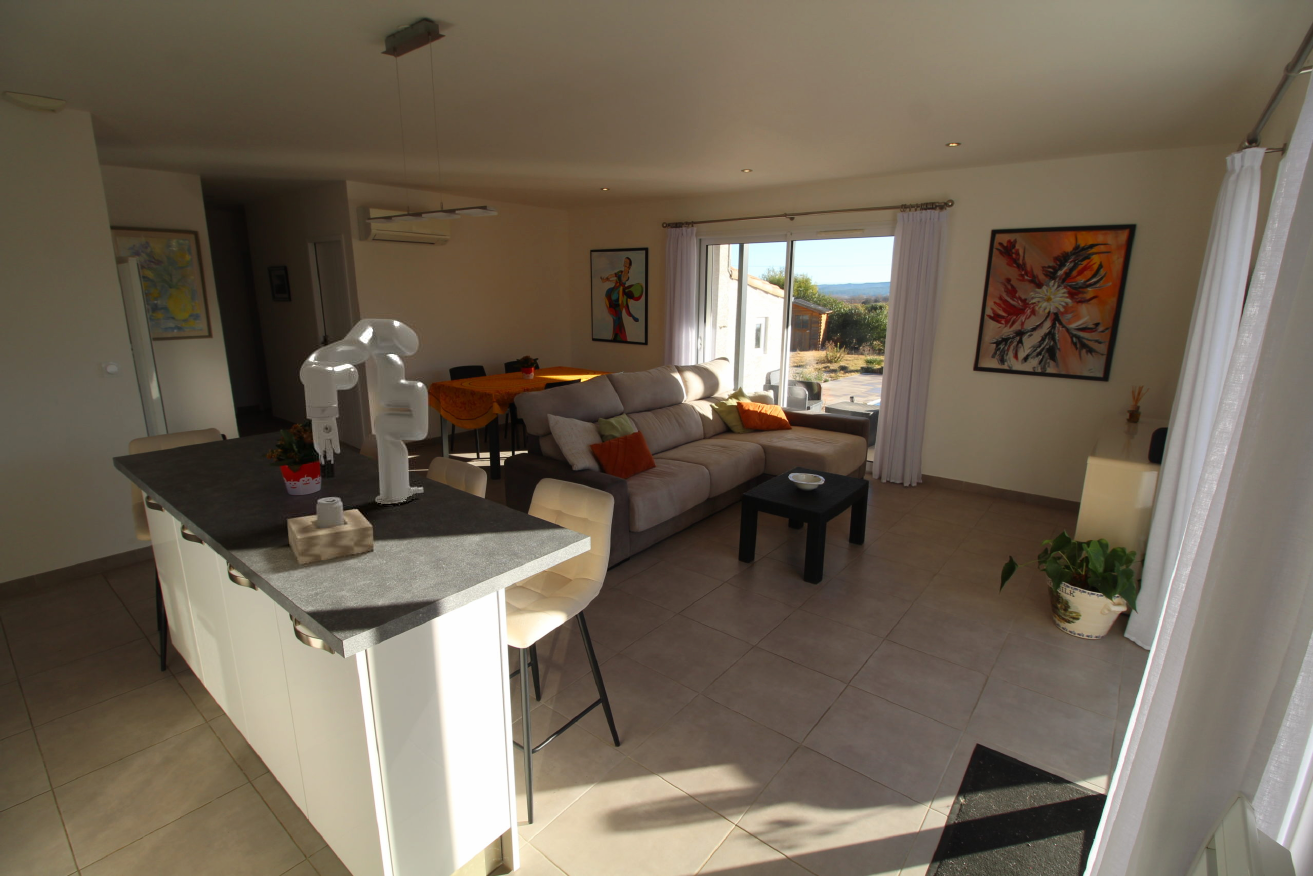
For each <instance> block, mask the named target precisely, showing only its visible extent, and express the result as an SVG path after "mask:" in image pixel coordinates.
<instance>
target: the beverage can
mask: <svg viewBox="0 0 1313 876" xmlns="http://www.w3.org/2000/svg"><path fill="white" fill-rule="evenodd" d="M343 506H344V505H343V502H342V499H341V497H337V496H331V497H330V496H329V497H323V498H319V499H318V500H317V503H316V506H315V507H316V508H315V509H316V515H317V524H318V529H321V528H328V527H334V526H340V525H344V521H343V511H344V507H343Z"/></svg>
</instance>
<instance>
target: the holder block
mask: <svg viewBox="0 0 1313 876" xmlns="http://www.w3.org/2000/svg"><path fill="white" fill-rule="evenodd" d="M286 520H287V521H286V522H287V533H288V544H289V546H290V548H291V550H292V552H293V555H294V556H295V558H296V557H297V558H296V561H297V562H298V564H299V565H306V564H310V562H311V563H316V562H321V561H325V560H332V558H333V559H336V558H335V557H338V558H342V557H341V556H343V557H347V556H346V555H349V556H351V555H350V554H354V555H356V554H355V553H359V554H362V553H361V552H365V553H367V552H366V551H370V550H374V530H373V525H372V524H371V523H370V521H368V520H367V518H366V517H365V516H364V515H363V514H362V513H361V512H360V511H359V510H358V509H357V508H356V509H355V508H353V509H348V510H343V521H344V525H340V526H334V527H328V528H321V529H318V524H317V514H313V515H306V516H299V517H294V518H293V517H292V518H287V519H286ZM370 552H371V551H370ZM305 563H306V564H305Z"/></svg>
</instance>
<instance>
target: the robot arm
mask: <svg viewBox="0 0 1313 876" xmlns="http://www.w3.org/2000/svg"><path fill="white" fill-rule="evenodd" d="M418 349H419V338H418V336H417V334H416V332H415V330H413V329H412V328H410V327H409V326H408V325H406V324H404V323H403V322H400V321H398V320H397V319H388V318H363V319H361V320H358V322H357V323H356V324H355V325H354V326H353V328H351V329H350V331H349V332H348V333H347V334H346V335H345V337H344V338H343V339H342V340H338V341H336V342H333V343H331V344H328V345H325V346H322V347H320V348H318V349H316V350H315V351H313V352H312V353H310V355H309V356H308V357H307V358H306V359H305V361H304V362H303V364H302V365H301V367H300V369H299V378H300V381H301V383H302V384H303V385H304V386H303V387H304V396H305V397H304V399H305V408H306V419H309V420H311V428H312V439H313V440H312V441H313V447H314V449H315V451H316V452H317V453H318V455H319V456H318V457H319V471H320V473H319V475H320V478H321V479H324V480H325V479H331V478H334V477H335V475H336V474H335V463H334V453H336V454H340V453H341V448H340V447H341V446H340V441H339V430H338V426H337V425H338V424H337V420H336V418H339V417H340V415H339V404H338V403H339V402H338V391H339V390H340V391H342V390H350V389H352V388H353V387H355V386H356V385H357V384H358V380H359V373H358V370H357V368H356V367H355V366H354V365H359V364H363V363H365V362H366V361H368V360H369V358H370V356H371V357H372V358H373V360H374V362H375V365H376V367H377V369H376V370H377V395H378V396H377V399H378V401H379V405H381V406H382V407H385V408H390V409H392V408H395V409H409V410H411V411H410V412H408V411H407V412H403V411H383V412H380V413H378V414H377V415H375V417H374V419H373V429H374V433H375V438H376V444H377V453H378V454H377V456H378V457H377V458H378V476H379V477H378V478H379V479H378V480H379V494H380V495H377V496H376V497H375V503H376V502H377V503H376V504H378V503H381V504H380V505H382V504H391V503H398V502H403V501H406V500H405V499H407V497H409V496H412V495H413V494H414V495H415V494H422V493H424V490H425V489H424V487H423V486H421V487H418V486H410V474H409V473H410V472H409V471H410V470H409V451H408V448H407V446H406V444H405V443H404V442H403V440H405V441H421V440H424V439H425V438H426V437H427V436H428V432H429V393H428V388H427V387H426V385H425V384H424V383H423V382H421V381H419V380H417V381H416V380H406V377H405V376H406V374H405V373H406V372H405V369H406V368H405V365H404V362H403V360H402V359H401V357H400V356H412V355H414V354H416V353H417V351H418Z"/></svg>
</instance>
